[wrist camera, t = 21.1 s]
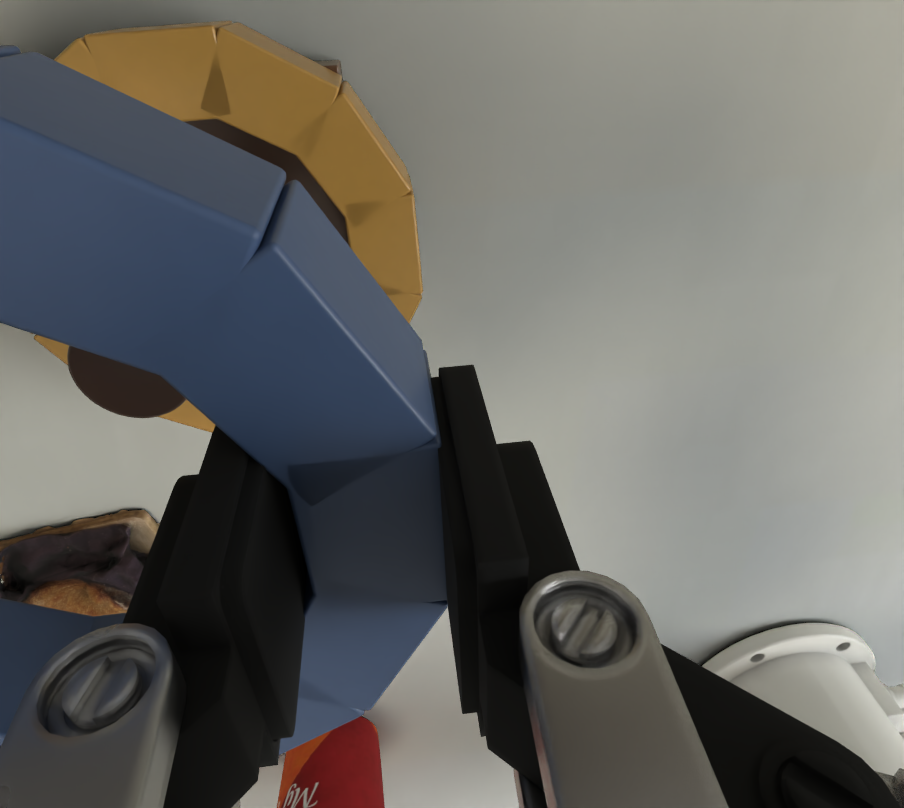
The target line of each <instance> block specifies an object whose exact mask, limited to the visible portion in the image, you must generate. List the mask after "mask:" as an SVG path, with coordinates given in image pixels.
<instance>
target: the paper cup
mask: <svg viewBox="0 0 904 808" xmlns="http://www.w3.org/2000/svg"><path fill="white" fill-rule="evenodd" d="M277 808H385V807H384V795H383V782H382V770H381V759H380V748H379V739H378V733H377V729H376V727H375V726H374V724H373V723H372V722H370V721H369V720H367V719H366V718H363V717H361V716H360V717H358V718H356V719H354V720H352V721H350V722H348V723H346V724H343V725H341V726H339V727H337V728H335V729H333V730H331V731H329V732H327V733H325V734H323V735H320V736H318V737H316V738H314V739H312V740H310V741H308V742H306V743H304V744H302V745H300V746H297V747H295V748H293V749H291V750H289V751H287V752H286V757H285V762H284V768H283V774H282V780H281V786H280V792H279V798H278V804H277Z"/></svg>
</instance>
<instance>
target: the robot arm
mask: <svg viewBox="0 0 904 808" xmlns="http://www.w3.org/2000/svg"><path fill="white" fill-rule="evenodd" d="M431 384H432V390H433V395H434V401H435V407H436V413H437V419H438V425H439V431H440V437H441V443H442V446H441V447H440V448H438V459H439V475H440V491H441V507H442V524H443V540H444V556H445V572H446V589H447V604H448V611H449V619H450V626H451V634H452V641H453V648H454V656H455V663H456V671H457V678H458V686H459V693H460V701H461V708H462V713H463V714H467V713H474V712H477V715H478V721H479V728H480V734H481V737H483V736H486V740H487V746H488V749H489V750H490V751H492V752H493V753H494V754H496V755H497V756H498V757H500V758H501V759H502V760H504V761H505V762H506V763H508V764H509V765H510V766H511V767H513V768H514V777H515V783H516V789H517V796H518V802H519V808H904V739H903V738H902V736H901V735H900V734H899V733H900V732H903V733H904V684H900V685H897V686H894V687H888V686H886V685H885V684H882V683H881V681H880V680H879V679H878V677H877V676H876V675H875V673H874V672H875V657H874V655H873V652H872V650H871V649H870V648H869V647H868V645H867V644H866V643H865V641H864V640H863V639H862V637H861V636H859V635H858V634H857V633H855V632H854V631H853V630H851V629H848V628H845V627H843V626H840V625H834V624H827V623H802V624H794V625H787V626H783V627H779V628H775V629H770V630H767V631H764V632H761V633H759V634H756V635H753V636H750V637H748V638H746V639H744V640H742V641H739V642H737V643H735V644H733V645H731V646H730V647H728V648H726V649H725V650H723V651H721V652H720V653H718V654H716V655H715V656H714V657H713V658H711V659H710V660H709V661H707V662H706V663H705V664H704V665H702V666H700V665H698V664H696V663H695V662H693V661H691V660H689V659H687V658H686V657H684V656H682V655H680V654H678V653H677V652H675V651H673V650H671V649H669V648H668V647H666V646H664V645H662V644H660V641H659V639H658V637H657V634H656V632H655V629H654V627H653V625H652V622H651V620H650V617H649V615H648V613H647V612H646V610H645V609H644V607H643V605H642V604H641V602H640V600H639V599H638V598H637V597H636V596H635V595H634V594H633V593H632V592H631V591H629V590H628V589H627V588H626V587H625V586H624V585H622V584H620V583H618V582H617V581H615V580H613V579H611V578H609V577H607V576H604V575H601V574H597V573H593V572H590V571H580V569H579V566H578V564H577V561H576V558H575V556H574V553H573V550H572V547H571V545H570V542H569V539H568V536H567V534H566V531H565V528H564V526H563V523H562V520H561V517H560V515H559V512H558V509H557V506H556V504H555V501H554V498H553V496H552V493H551V490H550V487H549V485H548V482H547V479H546V477H545V474H544V471H543V468H542V466H541V463H540V460H539V457H538V455H537V452H536V449H535V447H534V445H533V443H532V442H531V441H522V442H512V443H503V444H496V441H495V438H494V434H493V431H492V427H491V424H490V420H489V417H488V413H487V410H486V406H485V403H484V399H483V396H482V392H481V389H480V385H479V382H478V378H477V375H476V371H475V368H474V365H465V366H454V367H443V368H439V377H433V378H431ZM306 579H307V567H306V563H305V559H304V555H303V551H302V547H301V543H300V539H299V535H298V531H297V527H296V523H295V519H294V515H293V511H292V507H291V503H290V499H289V495H288V491H287V488H286V487H285V486H284V485H282V484H281V483H280V482H279V481H278V480H277V479H276V478H275V477H273V476H272V475H271V474H270V473H269V472H268V471H267V470H266V469H265V467H264V466H261V465H260V464H259V463H258V462H257V461H255V460H254V459H253V458H252V457H251V456H250V455H249V454H248V453H246V452H245V451H244V450H243V449H242V448H241V447H240V446H239V445H237V444H236V443H235V442H234V441H233V440H232V439H231V438H230V437H228V436H227V435H226V434H225V433H224V432H223V431H222V430H221V429H219V428H218V427H217V426H216V425H215V427H214V430H213V433H212V436H211V439H210V442H209V445H208V448H207V451H206V454H205V457H204V460H203V463H202V466H201V469H200V472H199V474H197V475H187V476H182V477H180V478H179V479H178V480H177V482H176V484H175V486H174V488H173V491H172V493H171V496H170V498H169V501H168V504H167V506H166V509H165V512H164V514H163V517H162V520H161V522H160V525H159V528H158V530H157V533H156V536H155V538H154V541H153V544H152V546H151V549H150V551H149V554H148V557H147V559H146V562H145V565H144V567H143V570H142V573H141V575H140V578H139V581H138V583H137V586H136V589H135V591H134V594H133V597H132V599H131V602H130V605H129V607H128V610H127V612H126V615H125V618H124V620H123V623H122V624H115V625H111V626H108V627H104V628H100V629H96V630H94V631H92V632H90V633H88V634H86V635H84V636H82V637H80V638H78V639H76V640H74V641H73V642H71V643H70V644H69V645H67V646H66V647H64V648H63V649H62V650H60V651H59V652H57V653H56V654H55V655H54V656H53V657H52V658H51V659H50V660H49V661H48V662H47V663H46V664H45V665H44V666H43V667H42V668H41V669H40V670H39V671H38V673H37V674H36V676H35V677H34V679H33V680H32V682H31V684H30V685H29V687H28V689H27V690H26V692H25V694H24V696H23V698H22V700H21V703H20V705H19V707H18V709H17V712H16V714H15V716H14V718H13V720H12V723H11V725H10V727H9V729H8V732H7V734H6V736H5V738H4V740H3V743H2V745H1V746H0V808H240V798H241V797H242V796H243V795H244V794H245V793H246V792H247V791H248V790H249V789H250V788H251V787H252V786H253V785H254V784H255V783H256V782H257V781H258V774H259V767H266V766H273V765H278V758H279V749H280V740H281V739H282V738H289V737H292V736H293V735H294V731H295V724H296V713H297V702H298V691H299V681H300V670H301V659H302V648H303V637H304V626H305V617H304V599H305V589H306Z"/></svg>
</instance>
